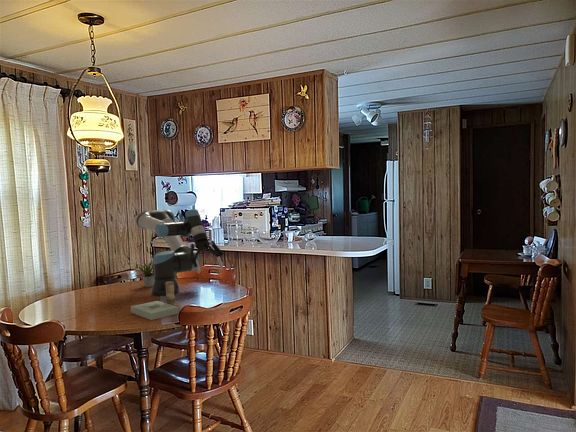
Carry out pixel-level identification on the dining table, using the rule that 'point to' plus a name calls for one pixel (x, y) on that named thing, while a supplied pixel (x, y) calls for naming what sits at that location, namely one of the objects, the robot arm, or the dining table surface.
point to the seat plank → (154, 310)
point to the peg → (170, 293)
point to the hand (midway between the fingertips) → (210, 270)
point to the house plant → (148, 274)
